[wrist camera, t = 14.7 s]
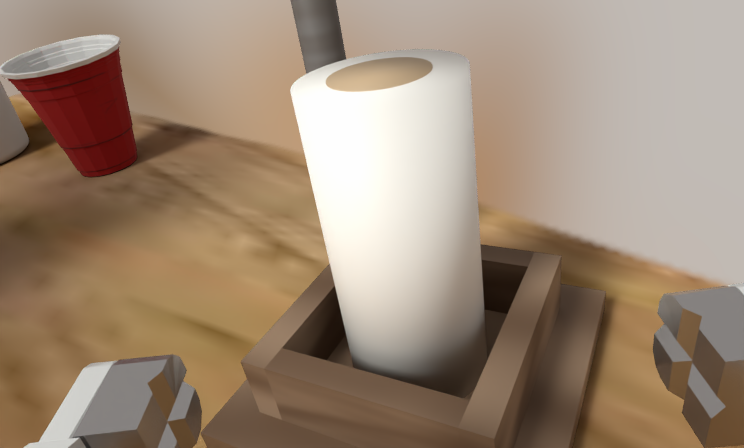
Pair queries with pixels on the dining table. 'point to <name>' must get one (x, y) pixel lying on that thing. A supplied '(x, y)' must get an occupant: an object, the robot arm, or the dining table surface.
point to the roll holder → (404, 400)
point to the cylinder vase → (10, 130)
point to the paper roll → (400, 211)
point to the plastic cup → (79, 100)
